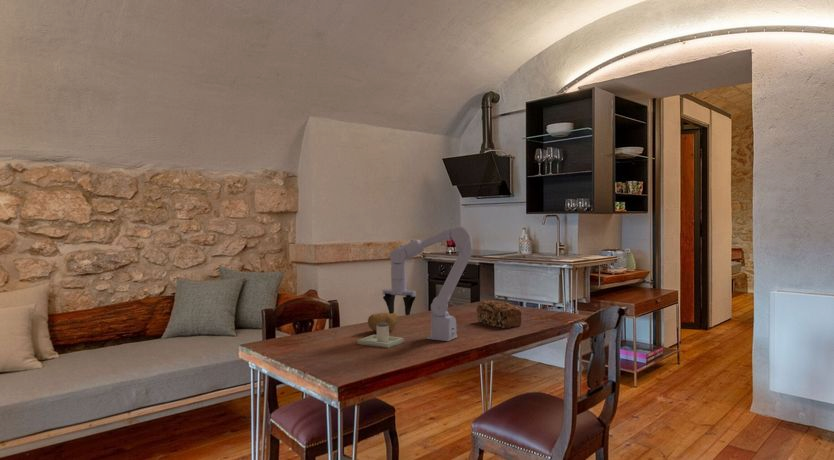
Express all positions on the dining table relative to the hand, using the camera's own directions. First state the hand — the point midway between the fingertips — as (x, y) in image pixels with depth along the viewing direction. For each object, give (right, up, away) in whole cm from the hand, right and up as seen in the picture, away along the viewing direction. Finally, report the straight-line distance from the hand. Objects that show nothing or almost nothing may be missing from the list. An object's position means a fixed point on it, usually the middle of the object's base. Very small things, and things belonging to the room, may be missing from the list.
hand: (399, 314), depth 193 cm
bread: (+42, -9, +22) cm, 48 cm away
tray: (-7, -10, -7) cm, 14 cm away
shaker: (-6, -9, -8) cm, 13 cm away
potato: (-7, -10, +13) cm, 18 cm away
